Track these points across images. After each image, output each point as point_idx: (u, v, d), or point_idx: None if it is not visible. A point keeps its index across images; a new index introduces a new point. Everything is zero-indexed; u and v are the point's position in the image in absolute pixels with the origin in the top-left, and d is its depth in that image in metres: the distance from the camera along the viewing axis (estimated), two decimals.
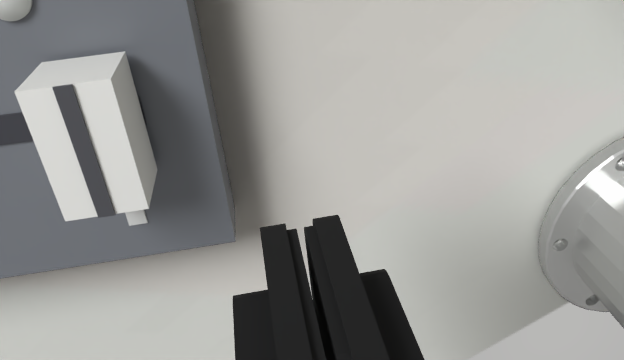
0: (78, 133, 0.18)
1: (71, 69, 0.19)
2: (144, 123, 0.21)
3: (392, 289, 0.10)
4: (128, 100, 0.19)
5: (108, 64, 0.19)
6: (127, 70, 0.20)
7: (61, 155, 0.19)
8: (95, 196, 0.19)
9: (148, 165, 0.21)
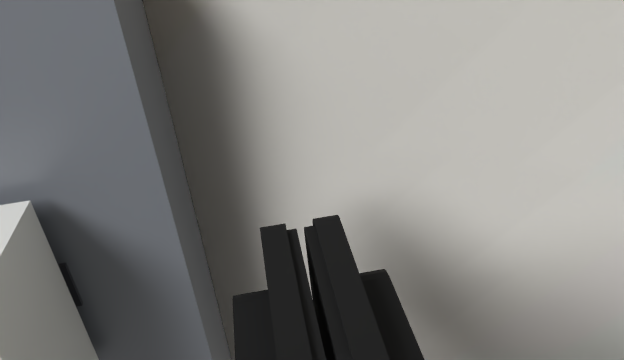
0: None
1: None
2: (75, 309, 0.12)
3: (392, 289, 0.10)
4: (31, 304, 0.10)
5: None
6: (34, 237, 0.11)
7: None
8: None
9: None
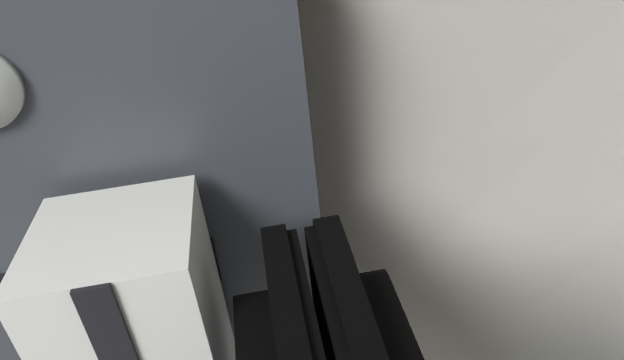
0: None
1: (102, 228, 0.10)
2: (220, 283, 0.13)
3: (392, 289, 0.10)
4: (206, 273, 0.10)
5: (172, 215, 0.10)
6: (199, 210, 0.11)
7: None
8: None
9: None
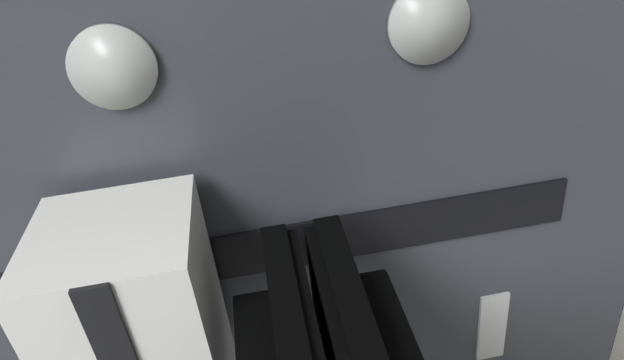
0: None
1: (100, 228, 0.10)
2: (219, 282, 0.13)
3: (392, 289, 0.10)
4: (205, 272, 0.10)
5: (171, 214, 0.10)
6: (198, 209, 0.11)
7: None
8: None
9: None
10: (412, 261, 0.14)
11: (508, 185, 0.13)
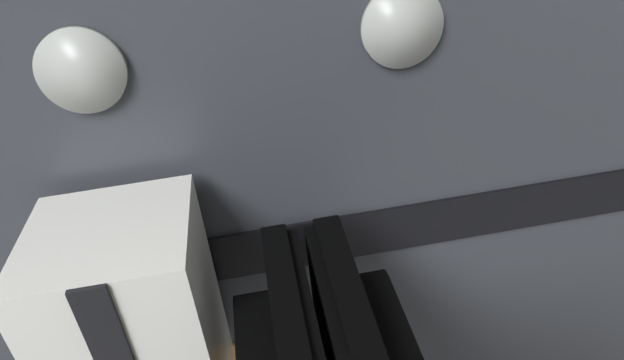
0: None
1: (98, 228, 0.10)
2: (217, 283, 0.12)
3: (392, 289, 0.10)
4: (203, 273, 0.10)
5: (169, 215, 0.10)
6: (196, 209, 0.11)
7: None
8: None
9: None
10: (617, 226, 0.14)
11: None
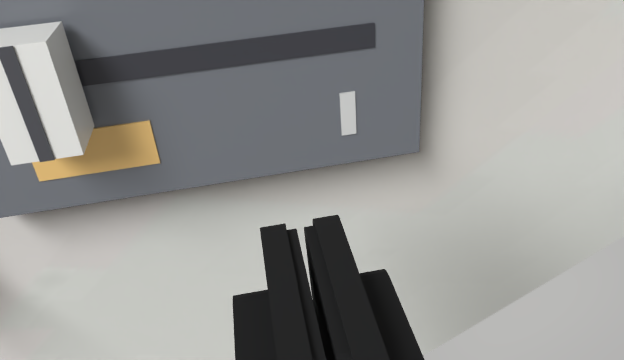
0: (19, 87, 0.22)
1: (13, 35, 0.22)
2: (81, 84, 0.25)
3: (392, 289, 0.10)
4: (63, 62, 0.23)
5: (45, 31, 0.22)
6: (63, 37, 0.24)
7: (5, 107, 0.22)
8: (36, 143, 0.23)
9: (84, 119, 0.25)
10: (300, 67, 0.27)
11: (345, 25, 0.26)
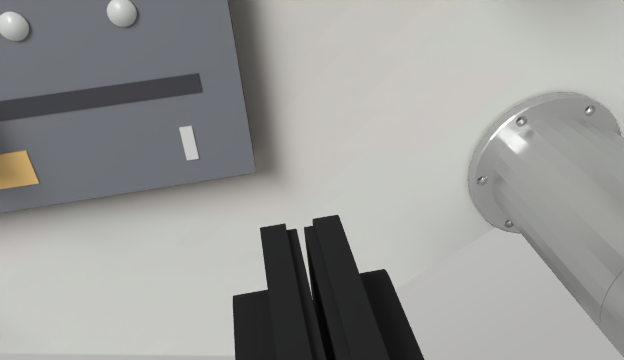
0: None
1: None
2: None
3: (392, 289, 0.10)
4: None
5: None
6: None
7: None
8: None
9: None
10: (143, 108, 0.34)
11: (174, 75, 0.34)
